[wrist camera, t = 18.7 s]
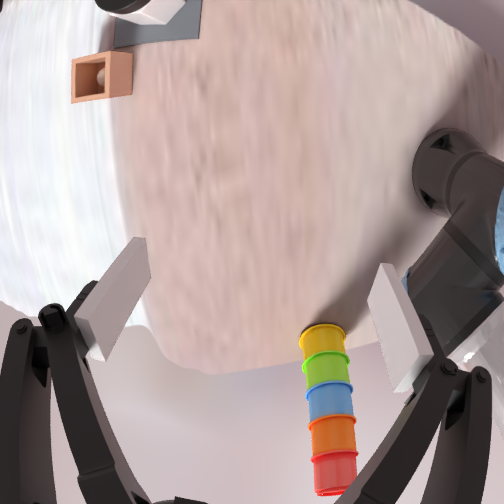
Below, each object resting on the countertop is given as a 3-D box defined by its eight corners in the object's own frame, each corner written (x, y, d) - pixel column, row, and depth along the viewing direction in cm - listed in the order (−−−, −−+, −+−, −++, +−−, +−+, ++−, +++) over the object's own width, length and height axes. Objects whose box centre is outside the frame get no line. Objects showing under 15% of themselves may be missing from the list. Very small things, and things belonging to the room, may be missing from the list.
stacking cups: (351, 324, 59) (377, 482, 29) (336, 354, 64) (350, 496, 35) (305, 319, 59) (311, 487, 29) (294, 350, 64) (293, 498, 35)
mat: (206, -37, 26) (206, -38, 26) (198, 38, 34) (197, 38, 33) (123, -24, 27) (121, -24, 26) (114, 48, 34) (113, 48, 34)
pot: (133, 53, 35) (110, 50, 29) (131, 94, 38) (109, 97, 32) (96, 59, 35) (71, 59, 29) (96, 98, 39) (71, 103, 33)
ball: (120, 65, 35) (110, 65, 33) (119, 84, 37) (109, 85, 34) (103, 68, 35) (93, 68, 33) (103, 87, 37) (92, 88, 34)
